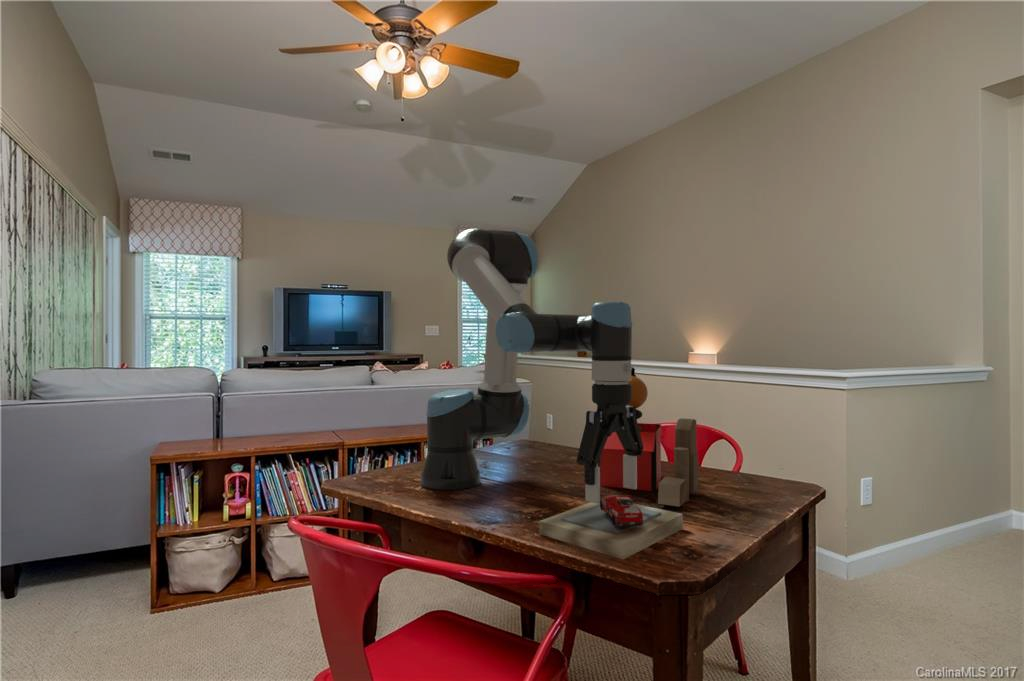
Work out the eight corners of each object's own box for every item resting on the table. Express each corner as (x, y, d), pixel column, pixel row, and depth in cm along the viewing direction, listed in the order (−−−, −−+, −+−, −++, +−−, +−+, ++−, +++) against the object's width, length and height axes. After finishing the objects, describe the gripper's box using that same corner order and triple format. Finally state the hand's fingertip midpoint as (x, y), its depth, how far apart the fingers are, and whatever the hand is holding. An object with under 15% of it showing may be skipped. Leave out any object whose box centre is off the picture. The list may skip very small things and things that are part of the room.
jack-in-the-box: (607, 469, 163) (606, 365, 163) (663, 473, 157) (662, 365, 157) (588, 491, 138) (588, 369, 138) (653, 497, 133) (653, 370, 133)
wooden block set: (675, 490, 139) (675, 417, 139) (699, 493, 136) (698, 419, 136) (653, 507, 125) (653, 426, 125) (679, 511, 122) (679, 428, 122)
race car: (596, 506, 112) (597, 486, 111) (623, 505, 112) (623, 485, 112) (616, 531, 99) (616, 508, 98) (646, 530, 99) (646, 507, 99)
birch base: (539, 537, 106) (539, 519, 106) (604, 511, 122) (604, 495, 122) (622, 561, 94) (622, 541, 94) (682, 529, 110) (682, 511, 110)
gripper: (591, 387, 97) (591, 513, 97) (660, 380, 115) (661, 485, 115) (556, 385, 102) (557, 504, 102) (628, 378, 120) (628, 479, 120)
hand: (612, 494), depth 108 cm, fingers open, 12 cm apart
